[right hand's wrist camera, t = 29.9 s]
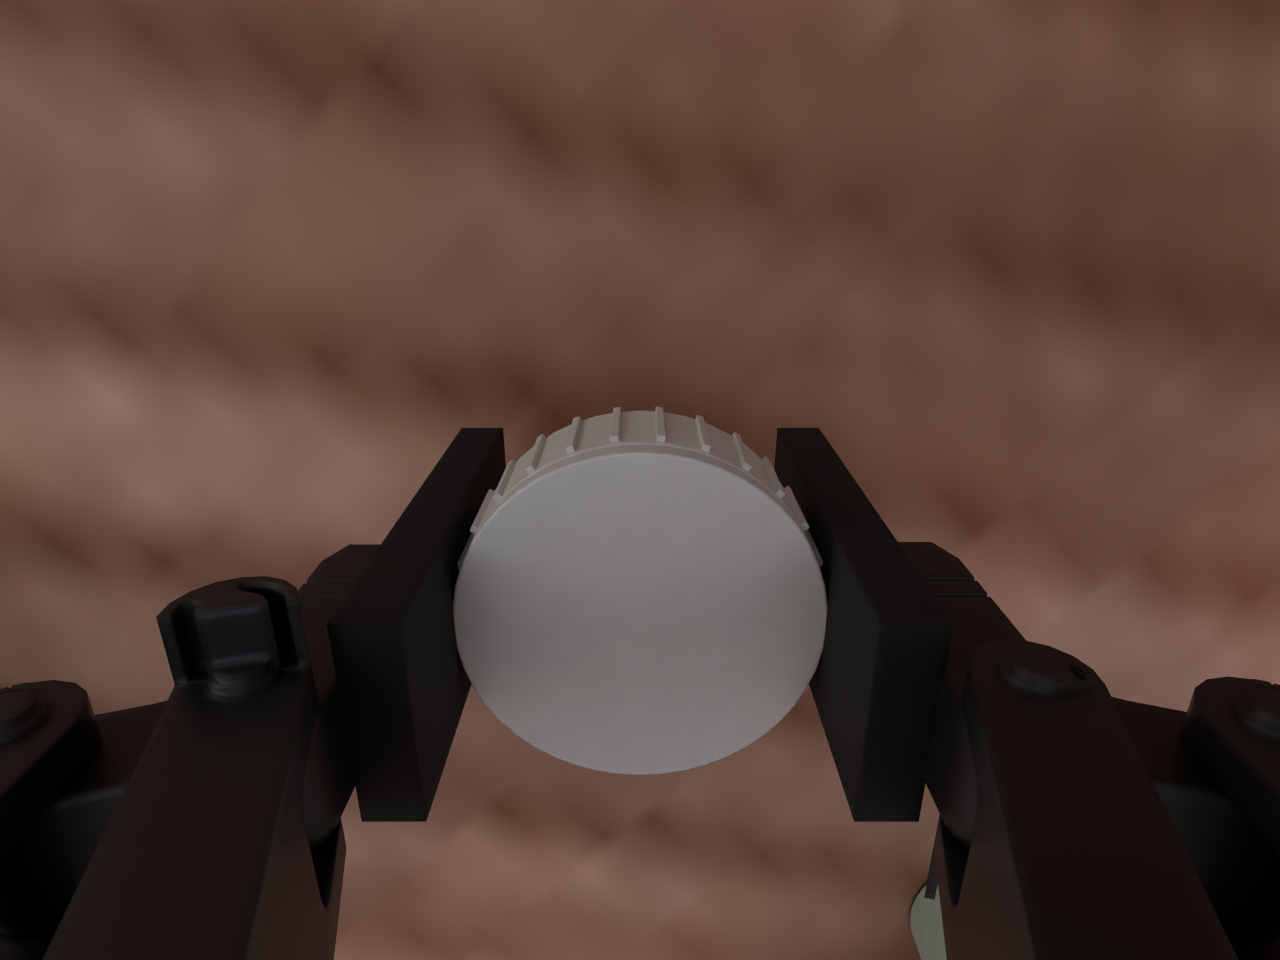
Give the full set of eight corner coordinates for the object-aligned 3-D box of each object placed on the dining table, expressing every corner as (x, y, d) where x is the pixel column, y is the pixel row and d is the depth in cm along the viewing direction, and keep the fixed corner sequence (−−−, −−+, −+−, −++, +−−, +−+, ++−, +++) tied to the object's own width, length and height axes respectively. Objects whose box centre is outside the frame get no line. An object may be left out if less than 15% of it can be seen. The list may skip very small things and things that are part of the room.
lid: (866, 481, 12) (907, 536, 10) (720, 737, 13) (732, 821, 12) (541, 348, 11) (522, 382, 9) (433, 639, 13) (400, 714, 11)
